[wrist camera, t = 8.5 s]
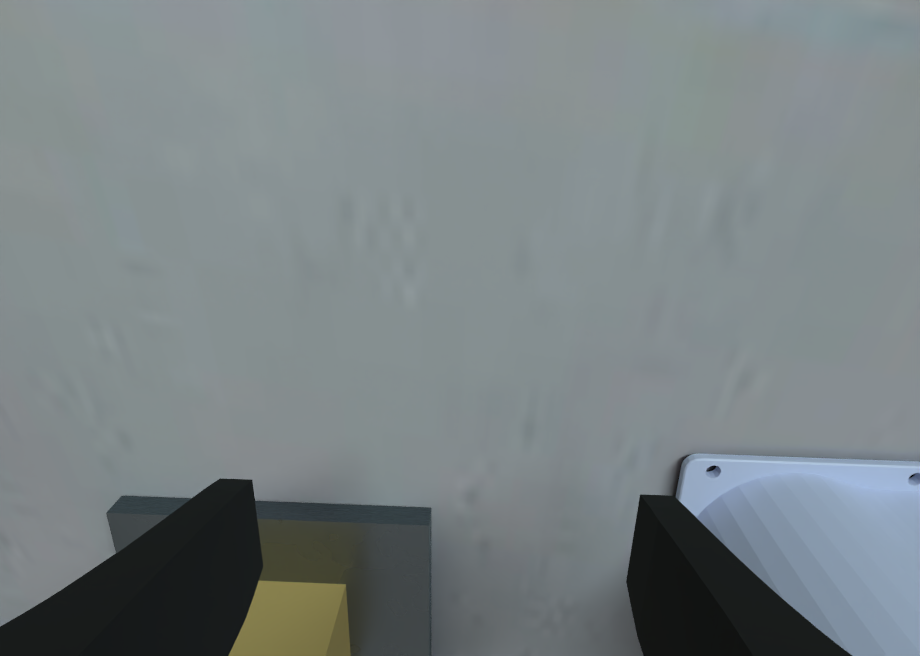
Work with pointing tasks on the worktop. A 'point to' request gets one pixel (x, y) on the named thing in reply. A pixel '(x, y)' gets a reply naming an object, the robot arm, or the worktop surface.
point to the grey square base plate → (333, 561)
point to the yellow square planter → (295, 621)
